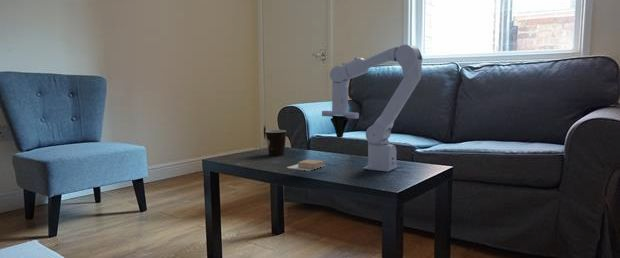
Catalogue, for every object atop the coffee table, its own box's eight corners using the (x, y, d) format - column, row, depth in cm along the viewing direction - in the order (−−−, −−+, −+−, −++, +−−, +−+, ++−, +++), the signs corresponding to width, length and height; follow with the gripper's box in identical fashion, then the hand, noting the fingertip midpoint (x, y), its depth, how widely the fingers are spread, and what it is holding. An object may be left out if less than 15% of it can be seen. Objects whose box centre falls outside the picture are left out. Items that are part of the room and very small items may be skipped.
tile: (323, 161, 163) (307, 159, 167) (314, 164, 158) (298, 162, 162) (323, 166, 164) (307, 164, 168) (314, 169, 159) (298, 167, 163)
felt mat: (325, 166, 166) (325, 165, 166) (309, 171, 158) (309, 170, 157) (302, 163, 171) (302, 162, 171) (286, 168, 163) (286, 167, 163)
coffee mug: (267, 153, 195) (266, 130, 194) (287, 152, 195) (286, 129, 194) (264, 158, 183) (263, 133, 182) (285, 157, 183) (285, 133, 182)
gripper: (317, 99, 164) (317, 136, 166) (352, 101, 156) (351, 140, 158) (327, 98, 170) (327, 134, 172) (362, 100, 162) (361, 137, 164)
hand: (339, 137), depth 165 cm, fingers closed
